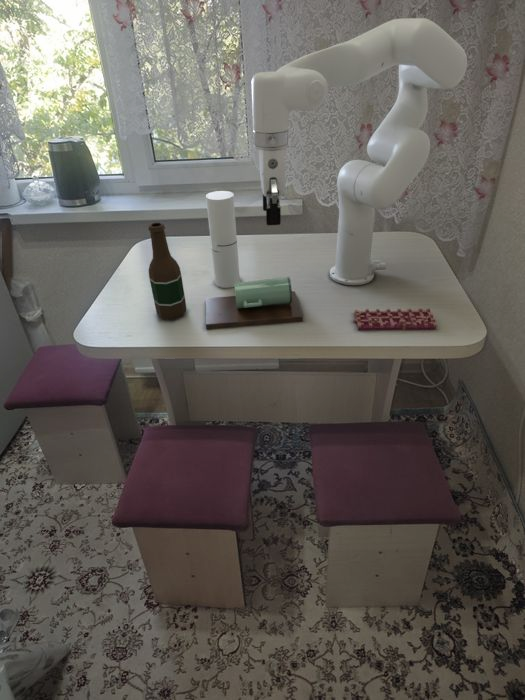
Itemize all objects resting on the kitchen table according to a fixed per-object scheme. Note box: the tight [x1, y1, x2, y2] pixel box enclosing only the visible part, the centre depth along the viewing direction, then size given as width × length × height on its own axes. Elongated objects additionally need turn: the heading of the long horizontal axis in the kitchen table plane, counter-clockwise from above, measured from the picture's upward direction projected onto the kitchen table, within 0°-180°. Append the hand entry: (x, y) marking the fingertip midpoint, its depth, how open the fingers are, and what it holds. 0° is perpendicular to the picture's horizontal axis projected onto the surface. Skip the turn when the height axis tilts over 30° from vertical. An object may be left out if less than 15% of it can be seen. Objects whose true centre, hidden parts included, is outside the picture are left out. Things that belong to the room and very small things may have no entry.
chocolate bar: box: [352, 307, 437, 331], centre depth 111 cm, size 7×19×2 cm, turn 88°
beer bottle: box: [147, 222, 187, 321], centre depth 111 cm, size 8×8×24 cm
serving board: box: [205, 290, 304, 330], centre depth 117 cm, size 24×13×2 cm, turn 95°
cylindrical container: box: [205, 190, 241, 289], centre depth 124 cm, size 7×7×25 cm
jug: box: [233, 276, 293, 309], centre depth 114 cm, size 7×9×14 cm
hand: (271, 217), depth 108 cm, fingers open, 9 cm apart
